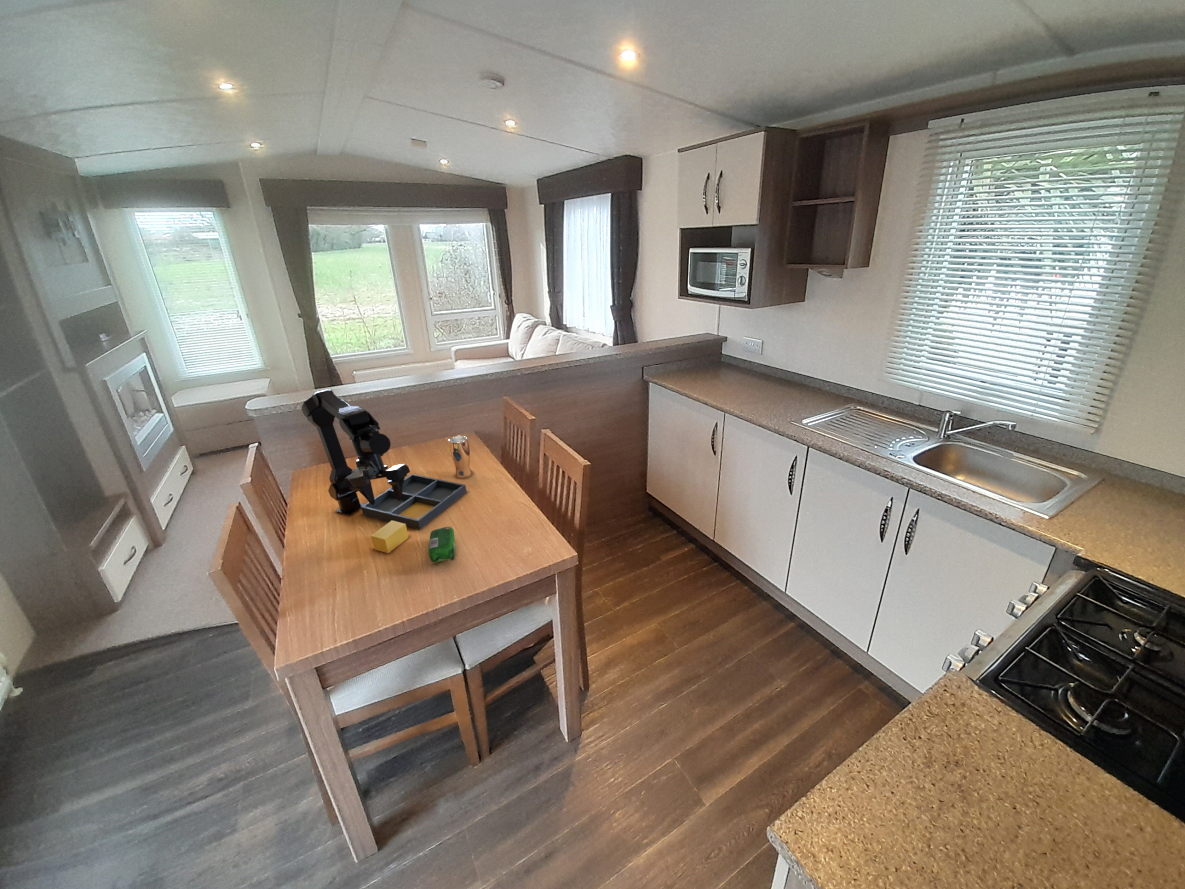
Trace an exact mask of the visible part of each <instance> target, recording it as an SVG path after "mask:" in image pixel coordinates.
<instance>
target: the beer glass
mask: <svg viewBox="0 0 1185 889" xmlns="http://www.w3.org/2000/svg"><path fill="white" fill-rule="evenodd" d="M448 441H449V442H448V443H449V451H450V455H451V458H452V461H453V463H454V467H455V477H456V478H458V479H466V478H470V477H471V476H472V475H473V471H472V468H471V465H470V464H471V463H470V462H471V461H470V459H471V450H470V445H469V440H468V437H467V436H466V435H455V436H452V437H450V438H449V439H448Z"/></svg>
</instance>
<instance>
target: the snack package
mask: <svg viewBox="0 0 1185 889" xmlns="http://www.w3.org/2000/svg"><path fill="white" fill-rule="evenodd" d="M455 538H456V537H455V532H454V528H453V527H452V526H444V527H443V526H442V527H440V528H435V529H433V530H431V531H430V533H429V540H428V555H429V559H430V562H432V563H434V564H436V563H437V564H438V563H441V562H445V561H449V560H450V561H454V560H455V553H456V543H455V540H456V539H455Z"/></svg>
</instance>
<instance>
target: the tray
mask: <svg viewBox="0 0 1185 889" xmlns="http://www.w3.org/2000/svg"><path fill="white" fill-rule="evenodd" d="M467 492H468V491H467V485H466V484H465V483H464V484H463V483H460V482H454V481H449V480H445V479H438V478H434V477H429V476H425V475H420V474H414V473H411V474H409V475H407V476H406V477H405V478H404V483H403V489H402V497H401V500H400V501H398V500H397V498H396V496H395V493H394V491H393V488H392V486H391V487H389V488H388V489H386V490H385V491H383V492H381V493H380V494H378V495H377V496H374V499H375V504H374V505H371V504H370V503H369V501H367V502H366V503H364V505H363V506H361V509H360V510H361V513H362V515H363V516H366V517H369V518H374V519H378V520H382V521H386V522H388V523H389V522H390V521H396V522H400V523H404V524H406V527H409V528H412V529H418V530H421V529H423V528H424V527H425V526H427V525H428V524H429V523H430V522H431V521H433V520H434V519H435V518H436V517H438V516H439V515H441V513H443V512H444V511H445V510H447V509H448V508H449V507H451V506H452V505H453V504H454V503H455V502H456V501H457V500H459V499H460V498H462V497H463V496H464V495H466V493H467Z"/></svg>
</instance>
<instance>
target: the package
mask: <svg viewBox="0 0 1185 889" xmlns="http://www.w3.org/2000/svg"><path fill="white" fill-rule="evenodd" d="M407 528H408V527H407V526H406V524H404V523H400V522H396V521H390V522H389V521H388V522H387V523H386V524H385V525H383V526H382V527H381V528H379V529H378V530H377V531H375V532H374V533H372V534H371V535H370V538H371V542H372V545H373V550H375V551H379V552H382V553H386V554H390V553H391V552H392V551H394V550H395V549H396V548H397V547H398V546H400V545H401V544H402V543H403V542H405V541H406V540H407V539H408V538H409V537H410V536H409V533H408V529H407Z"/></svg>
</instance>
